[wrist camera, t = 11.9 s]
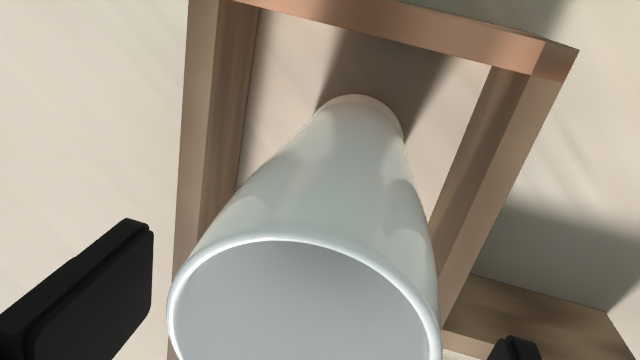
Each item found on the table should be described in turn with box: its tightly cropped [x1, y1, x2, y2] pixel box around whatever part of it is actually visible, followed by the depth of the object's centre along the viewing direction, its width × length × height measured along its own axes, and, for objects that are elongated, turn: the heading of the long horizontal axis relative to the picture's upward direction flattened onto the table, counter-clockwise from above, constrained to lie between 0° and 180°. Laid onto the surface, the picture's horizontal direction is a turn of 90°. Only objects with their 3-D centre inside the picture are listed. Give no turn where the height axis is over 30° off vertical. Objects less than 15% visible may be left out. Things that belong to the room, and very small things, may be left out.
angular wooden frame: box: [167, 0, 636, 360], centre depth 23 cm, size 25×28×6 cm
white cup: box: [166, 94, 443, 360], centre depth 16 cm, size 7×7×15 cm
